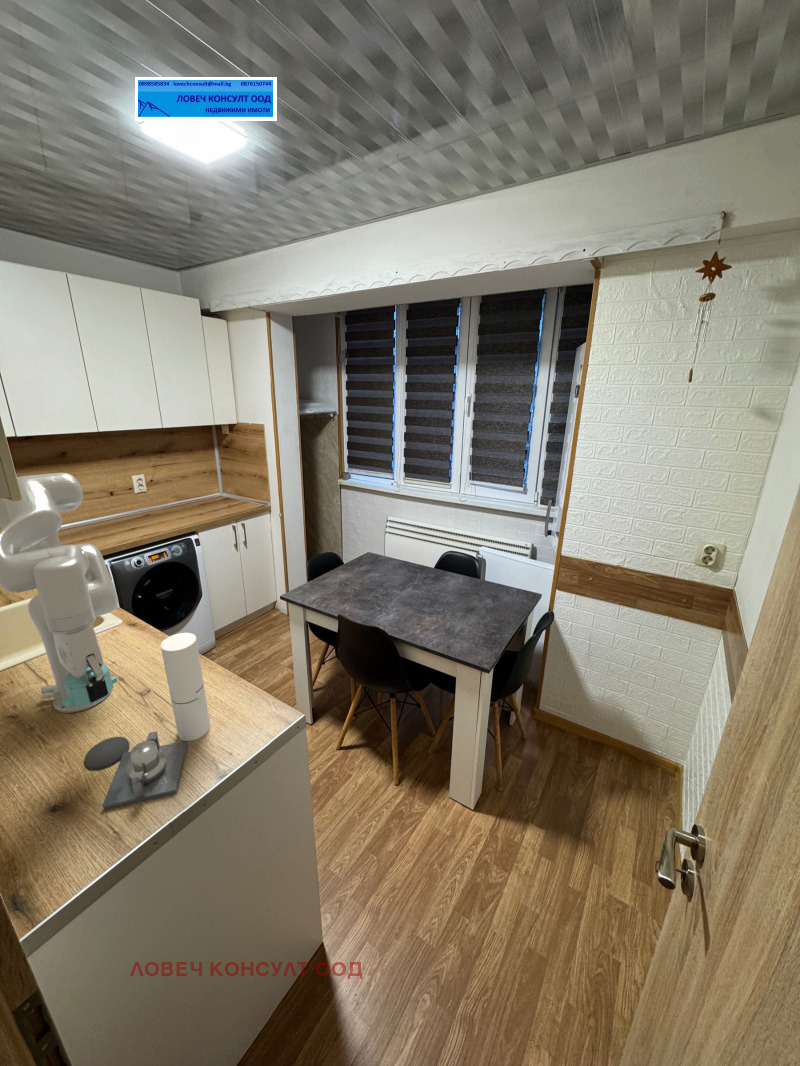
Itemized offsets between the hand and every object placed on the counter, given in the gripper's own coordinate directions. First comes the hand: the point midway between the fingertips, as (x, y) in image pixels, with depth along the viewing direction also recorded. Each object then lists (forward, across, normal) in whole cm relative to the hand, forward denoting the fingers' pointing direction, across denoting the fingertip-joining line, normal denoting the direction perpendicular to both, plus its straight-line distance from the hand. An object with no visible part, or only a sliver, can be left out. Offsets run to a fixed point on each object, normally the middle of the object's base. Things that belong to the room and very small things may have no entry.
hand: (90, 689), depth 89 cm
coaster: (+18, 0, 0) cm, 18 cm away
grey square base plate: (+18, +13, +2) cm, 22 cm away
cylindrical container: (+18, +9, +15) cm, 25 cm away
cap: (+1, 0, 0) cm, 1 cm away
